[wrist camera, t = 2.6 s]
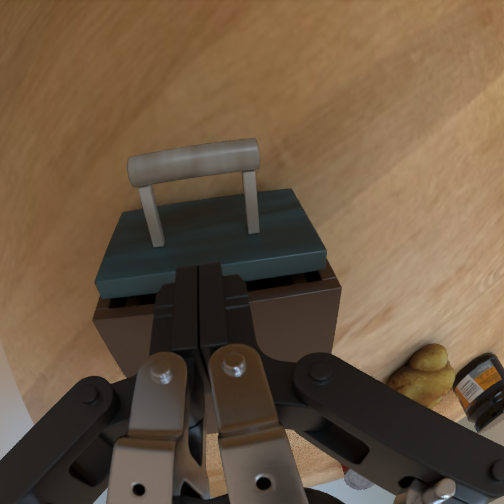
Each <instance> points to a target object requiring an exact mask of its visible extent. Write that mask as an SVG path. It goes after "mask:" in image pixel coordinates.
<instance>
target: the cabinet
mask: <svg viewBox="0 0 504 504" xmlns="http://www.w3.org/2000/svg"><path fill="white" fill-rule="evenodd" d="M304 276H305V278H306V281H307V283H302V284H295V285H289V286H283V287H276V288H269V289H262V290H256V291H249V292H248V298H249V303H250V309H251V314H252V319H253V325H254V330H255V336H256V341H257V344H258V346H259V348H260V350H261V351H262V352H263V353H264V354H265V355H267V356H268V357H270V358H273V359H276V360H280V361H287V362H298V361H299V360H300V359H301V358H302V357H304V356H306V355H308V354H311V353H316V352H324V353H329V354H331V352H332V346H333V341H334V335H335V329H336V323H337V316H338V310H339V303H340V296H341V289H342V287H341V285H340V283H339V281H338V279H337V277H336V275H335V273H334V271H333V270H332V268H331V266H330V264H329V262H328V260H327V258H326V268H325V270H319V271H313V272H306V273H304ZM126 301H127V297H121V298H112V299H102V298H101V296H100V297H99V301H98V304H97V307H96V310H95V313H94V316H93V320H92V321H93V323H94V325H95V326H96V328H97V330H98V332H99V334H100V335H101V337H102V339H103V341H104V342H105V344H106V346H107V347H108V349H109V351H110V352H111V354H112V356H113V357H114V359H115V361H116V362H117V364H118V365H119V367H120V369H121V370H122V372H123V373H124V375H125V376H126V378H129V377H132V376H134V375H135V374H137V373H138V369H139V367H140V365H141V364H142V362H143V361H144V360H145V359H146V358H148V357H149V352H150V342H151V333H152V324H153V319H154V317H153V316H154V309H155V304H148V305H139V306H130V307H125V305H126ZM205 410H206V415H207V424H206V434H212V433H219V431H218V425H217V419H216V413H215V408H214V402H213V396H212V393H205Z"/></svg>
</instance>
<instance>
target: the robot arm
mask: <svg viewBox="0 0 504 504" xmlns="http://www.w3.org/2000/svg"><path fill="white" fill-rule="evenodd" d="M153 317H154V319H153V324H152V333H151V342H150V352H149V357H148V358H146V359H145V360H144V361H143V362H142V364H141V365H140V367H139V369H138V373H137V374H135V375H134V376H132V377H129V378H127V379H124V380H121V381H118V382H116V383H113V384H110V383H109V382H108V381H107V380H106V379H104V378H102V377H99V376H89V377H86V378H84V379H82V380H80V381H79V382H78V383H76V384H75V385H74V386H73V387H72V388H71V389H70V390H69V391H68V392H67V393H66V394H65V395H64V396H63V397H62V398H61V399H60V400H59V401H58V402H57V403H56V404H55V405H54V406H53V407H52V408H51V409H50V410H49V411H48V412H47V413H46V414H45V415H44V416H43V417H42V418H41V419H40V420H39V421H38V422H37V423H36V424H35V425H34V426H33V427H32V428H31V429H30V430H29V432H28V433H27V434H26V435H25V436H24V437H23V438H22V439H21V440H20V441H19V442H18V443H17V444H16V445H15V446H14V447H13V448H12V449H11V450H10V451H9V452H8V453H7V454H6V455H5V456H4V457H3V458H2V459H1V460H0V504H93V502H95V501H96V499H97V498H98V497H99V496H100V495H101V494H102V493H103V492H104V491H105V489H107V487H108V491H107V501H106V504H345V503H343V502H342V501H340V500H339V499H337V498H335V497H333V496H331V495H329V494H327V493H324V492H322V491H319V490H315V489H311V488H305V487H303V484H302V481H301V478H300V475H299V472H298V469H297V465H296V462H295V459H294V456H293V453H292V450H291V446H290V443H289V440H288V437H287V434H286V431H285V429H291V430H294V431H295V432H296V433H297V434H299V435H300V436H301V437H303V438H304V439H306V440H307V441H309V442H310V443H312V444H313V445H314V446H316V447H317V448H319V449H320V450H322V451H323V452H325V453H326V454H328V455H329V456H331V457H332V458H334V459H336V460H337V461H339V462H340V463H342V464H343V465H345V466H346V467H348V468H350V469H351V470H353V471H354V472H356V473H358V474H359V475H361V476H363V477H364V478H366V479H368V480H369V481H371V482H373V483H374V484H376V485H378V486H380V487H381V488H383V489H385V490H387V491H389V492H390V493H392V494H394V495H396V497H395V500H394V503H393V504H488V503H490V502H492V501H494V500H496V499H497V498H500V497H502V496H504V446H502V445H499V444H497V443H495V442H493V441H491V440H489V439H487V438H485V437H483V436H481V435H479V434H477V433H475V432H473V431H471V430H469V429H467V428H465V427H463V426H461V425H459V424H458V423H456V422H454V421H452V420H450V419H448V418H446V417H444V416H442V415H440V414H438V413H436V412H435V411H433V410H431V409H429V408H427V407H425V406H423V405H421V404H420V403H418V402H416V401H414V400H412V399H410V398H409V397H407V396H405V395H403V394H401V393H399V392H398V391H396V390H394V389H392V388H390V387H389V386H387V385H385V384H383V383H382V382H380V381H378V380H376V379H374V378H373V377H371V376H369V375H367V374H366V373H364V372H362V371H360V370H359V369H357V368H355V367H353V366H352V365H350V364H348V363H347V362H345V361H343V360H341V359H340V358H338V357H336V356H334V355H332V354H329V353H324V352H316V353H311V354H308V355H306V356H304V357H302V358H301V359H300V360H299V361H298V362H287V361H280V360H276V359H273V358H270V357H268V356H267V355H265V354H264V353H263V352H262V351H261V350H260V348H259V346H258V344H257V341H256V336H255V330H254V325H253V319H252V314H251V309H250V303H249V298H248V292H247V287H246V283H245V282H244V281H243V279H242V278H241V277H240V276H239V275H238V274H235V275H228V276H223V273H222V267H221V262H220V261H219V262H212V263H205V264H199V266H198V265H191V266H183V267H177V268H176V276H175V283H169V284H163V286H162V287H161V289H160V290H159V292H158V293H157V295H156V301H155V309H154V316H153ZM205 393H212V396H213V402H214V408H215V413H216V419H217V425H218V431H219V435H218V444H219V450H220V455H221V461H222V466H223V471H224V476H225V481H226V486H227V491H228V494H225V495H222V496H219V497H216V498H212V499H210V488H209V479H208V475H207V471H206V424H207V415H206V410H205Z"/></svg>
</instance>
